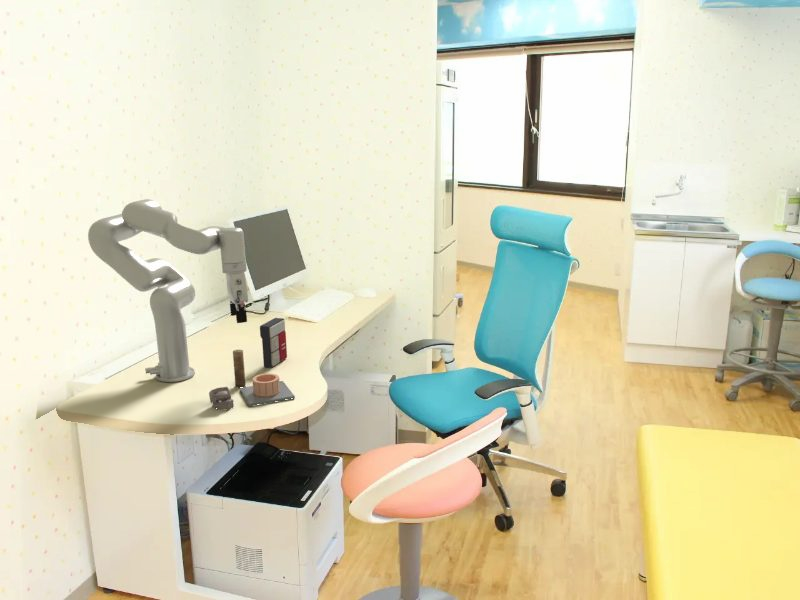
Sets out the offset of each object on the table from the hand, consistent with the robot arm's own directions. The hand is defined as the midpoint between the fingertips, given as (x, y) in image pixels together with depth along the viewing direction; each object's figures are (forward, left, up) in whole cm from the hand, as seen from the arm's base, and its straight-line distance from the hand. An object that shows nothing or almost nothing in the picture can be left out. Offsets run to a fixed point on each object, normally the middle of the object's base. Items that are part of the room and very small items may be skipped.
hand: (238, 318), depth 229 cm
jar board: (+4, -15, -22) cm, 27 cm away
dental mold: (-10, -18, -22) cm, 30 cm away
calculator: (+14, +13, -22) cm, 29 cm away
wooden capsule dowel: (-2, -4, -22) cm, 22 cm away
